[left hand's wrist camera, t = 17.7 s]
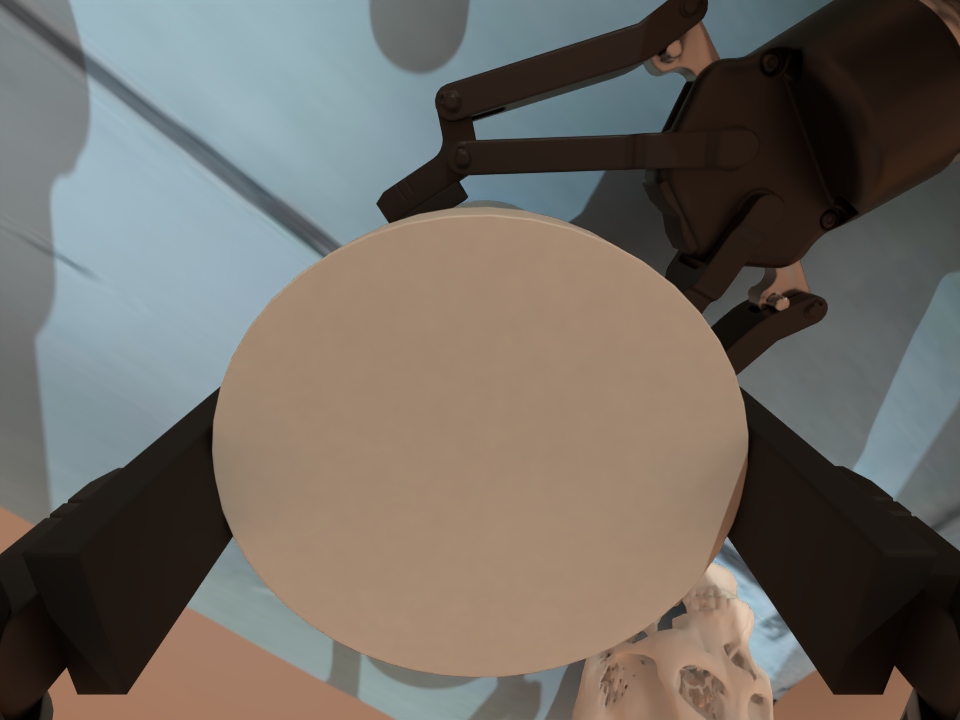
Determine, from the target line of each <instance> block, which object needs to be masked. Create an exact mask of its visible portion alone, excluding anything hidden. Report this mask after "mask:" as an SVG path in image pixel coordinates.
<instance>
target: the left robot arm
mask: <svg viewBox="0 0 960 720" xmlns="http://www.w3.org/2000/svg"><path fill="white" fill-rule="evenodd" d="M220 388H221V386H220V387H219V388H218V389H217V390H216V391H215V392H213V393H212V394H211V395H210V396H209V397H207V398H206V399H205V400H204V401H203V402H201V403H200V404H199V405H198V406H197V407H195V408H194V409H193V410H192V411H191V412H189V413H188V414H187V415H186V416H185V417H183V418H182V419H181V420H180V421H179V422H178V423H176V424H175V425H174V426H173V427H172V428H170V429H169V430H168V431H167V432H166V433H164V434H163V435H162V436H161V437H160V438H158V439H157V440H156V441H155V442H154V443H152V444H151V445H150V446H149V447H148V448H146V449H145V450H144V451H143V452H142V453H141V454H139V455H138V456H137V457H136V458H135V459H133V460H132V461H131V462H130V463H129V464H127V465H126V466H125V467H124V468H117V469H115V470H113V471H111V472H109V473H107V474H105V475H103V476H101V477H100V478H98V479H96V480H94V481H92V482H90V483H89V484H87V485H86V486H85V487H84V488H82V489H81V490H80V491H79V492H77V493H76V494H75V495H74V496H72V497H71V498H70V499H69V500H68V503H64V504H62V505H61V506H60V507H59V508H57V509H56V510H55V511H54V512H52V513H51V514H50V518H45V519H44V520H42V521H41V522H40V523H39V524H37V525H36V526H35V527H34V528H32V529H31V530H30V531H29V532H27V533H26V534H25V535H24V536H23V537H21V538H20V539H19V540H18V541H16V542H15V543H14V544H13V545H11V546H10V547H9V548H8V549H6V550H5V551H4V552H3V553H1V554H0V720H52V718H53V706H52V700H51V697H50V695H49V693H48V689H49V688H50V687H51V685H52V684H53V683H54V682H55V681H56V679H57V678H58V677H59V676H60V675H61V673H62V672H63V671H64V670H65V669H66V667H67V669H68V671H69V674H70V676H71V679H72V682H73V684H74V687H75V689H76V692H77V694H127V693H128V692H129V690H130V689H131V687H132V686H133V684H134V683H135V681H136V680H137V678H138V677H139V675H140V674H141V672H142V671H143V669H144V668H145V666H146V665H147V663H148V662H149V660H150V659H151V657H152V656H153V655H154V653H155V652H156V650H157V649H158V647H159V646H160V644H161V643H162V641H163V640H164V638H165V637H166V635H167V634H168V632H169V631H170V629H171V628H172V626H173V625H174V623H175V622H176V620H177V619H178V617H179V616H180V614H181V613H182V611H183V610H184V608H185V607H186V605H187V604H188V602H189V601H190V599H191V598H192V597H193V595H194V594H195V592H196V591H197V589H198V588H199V586H200V585H201V583H202V582H203V580H204V579H205V577H206V576H207V574H208V573H209V571H210V570H211V568H212V567H213V565H214V564H215V562H216V561H217V559H218V558H219V556H220V555H221V553H222V552H223V550H224V549H225V547H226V546H227V544H228V543H229V542H230V540H231V539H232V537H233V534H232V532H231V529H230V527H229V525H228V522H227V520H226V517H225V515H224V513H223V510H222V506H221V501H220V497H219V493H218V488H217V484H216V479H215V473H214V466H213V456H212V442H213V422H214V416H215V411H216V406H217V401H218V397H219V392H220ZM739 388H740V391H741V394H742V398H743V401H744V407H745V414H746V421H747V428H748V467H747V471H746V476H745V481H744V486H743V491H742V496H741V500H740V504H739V507H738V511H737V514H736V517H735V520H734V523H733V525H732V527H731V529H730V531H729V533H728V535H727V537H728V538H729V540H730V541H731V542H732V544H733V545H734V547H735V548H736V550H737V551H738V553H739V554H740V556H741V557H742V559H743V560H744V562H745V563H746V565H747V566H748V568H749V569H750V571H751V572H752V574H753V575H754V577H755V578H756V580H757V581H758V583H759V584H760V586H761V587H762V589H763V590H764V592H765V593H766V595H767V596H768V597H769V599H770V600H771V602H772V603H773V605H774V606H775V608H776V609H777V611H778V612H779V614H780V615H781V617H782V618H783V620H784V621H785V623H786V624H787V626H788V627H789V629H790V630H791V632H792V633H793V635H794V636H795V638H796V639H797V641H798V642H799V644H800V645H801V647H802V648H803V650H804V651H805V653H806V654H807V655H808V657H809V658H810V660H811V661H812V663H813V664H814V666H815V667H816V669H817V670H818V672H819V673H820V675H821V676H822V678H823V679H824V681H825V682H826V684H827V685H828V687H829V688H830V690H831V691H832V693H833V694H834V695H882V694H883V693H884V690H885V688H886V685H887V683H888V680H889V678H890V675H891V673H892V670H893V668H894V665H895V666H896V668H897V669H898V670H899V671H900V672H901V674H902V675H903V676H904V677H905V678H906V680H907V681H908V682H909V683H910V684H911V686H912V687H913V690H912V693H911V695H910V697H909V700H908V702H907V705H906V707H905V709H904V712H903V714H902V716H901V719H900V720H960V551H959V550H958V549H956V548H955V547H954V546H953V545H951V544H950V543H949V542H947V541H946V540H945V539H944V538H942V537H941V536H940V535H939V534H937V533H936V532H935V531H934V530H932V529H931V528H930V527H929V526H927V525H926V524H925V523H924V522H922V521H921V520H920V519H919V518H917V517H916V516H912V515H911V512H910V511H909V510H907V509H906V508H905V507H904V506H902V505H901V504H900V503H899V502H894V501H893V498H892V497H891V496H890V495H889V494H887V493H886V492H885V491H884V490H882V489H881V488H880V487H878V486H877V485H876V484H875V483H873V482H872V481H871V480H869V479H867V478H865V477H863V476H861V475H859V474H857V473H855V472H853V471H851V470H849V469H847V468H845V467H843V466H834V465H833V464H832V463H831V462H829V461H828V460H827V459H826V458H825V457H823V456H822V455H821V454H820V453H819V452H817V451H816V450H815V449H814V448H813V447H812V446H810V445H809V444H808V443H807V442H806V441H804V440H803V439H802V438H801V437H800V436H798V435H797V434H796V433H795V432H794V431H792V430H791V429H790V428H789V427H788V426H786V425H785V424H784V423H783V422H782V421H780V420H779V419H778V418H777V417H776V416H774V415H773V414H772V413H771V412H770V411H769V410H767V409H766V408H765V407H764V406H763V405H761V404H760V403H759V402H758V401H757V400H755V399H754V398H753V397H752V396H751V395H749V394H748V393H747V392H746V391H745V390H743V389H742V388H741V387H740V386H739Z"/></svg>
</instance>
